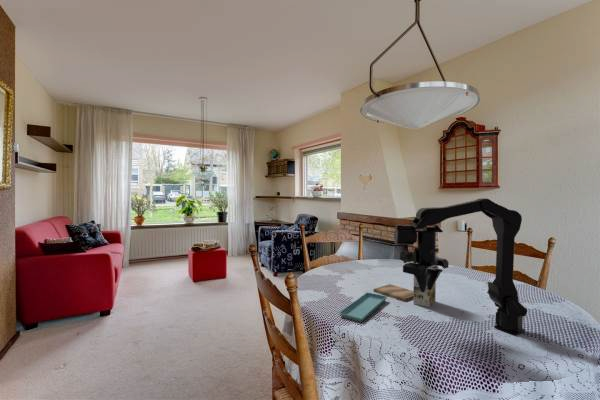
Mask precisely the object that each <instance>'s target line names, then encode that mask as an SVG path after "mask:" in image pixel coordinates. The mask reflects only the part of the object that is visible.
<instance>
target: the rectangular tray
mask: <svg viewBox="0 0 600 400" xmlns="http://www.w3.org/2000/svg"><path fill="white" fill-rule="evenodd" d="M387 297H388V296H386V295H383V294H379V293H377V294H376V293H372V292H366V293H364V294H363V295H362V296H360V297H359V298H358V299H356V300H354V301H353V302H352V303H350V304H349V305H348V306H346V307H344V308H343V309H342V310H341V311H339V315H340V316H341V318H344V319H347V318H348V320H351V319H352V320H351V321H355V320H356V322H358V321H359V323H362V322H363V321H364V320H365V319H367V318H368V317H369V316H370V315H371V314H372V313H374V311H376V310H377V309H379V307H380V306H382V304H384V303H385V301H386V299H387Z"/></svg>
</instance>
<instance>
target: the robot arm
mask: <svg viewBox="0 0 600 400" xmlns="http://www.w3.org/2000/svg"><path fill="white" fill-rule="evenodd" d="M480 212H482V214H484V215H485V216H486V217H488V218H490V219H491V220H492V221H491V222H492V228H493V230H494V233H495V235H496V255H495V256H496V257H495V259H496V260H495V278H494V279H493V282H490V281H488V282H487V287H488V289H487V292H486V293H487V294H488V297H489V299H490V300H491V301H492V302H493V303H494V305H495V307H497V309H496V310H497V311H496V312H495V325H494V326H493V328H495V329H498V330H500V331H502V332H505V333H507V334H510V335H513V336H517V335H520V334H522V333H524V332H526V329H525V328H523V327H524V326H523V325H524V324H523V321H524V319H523V318H524V317H526V315H527V313H528V309H527V308H526V307H524V305H523V304H521V302H520V299H519V293H518V290H517V287H516V285H515V283H514V263H515V239H516V236H517V235H518V233H519V231H520V230H521V225H522V221H523V217H522V215H521V214H520V212H518V211H517V210H513V209H509V208H508V207H505V206H504V205H503V206H502V205H500V204H498V203H496V202H494V201H492V200H491V199H489V198H480V197H479V198H477V199H475V200H471V201H465V202H461V203H456V204H451V205H447V206H440V207H434V206H433V207H432V206H431V207H422V208H419V209H418V210H417V211H416V214H415V217H414V218H413V220H412V221H411V223H409V224H406V225H404V224H403V225H402V224H395V228H394V233H393V243H394V245H396V246H399V245H401V246H405V245H406V246H414V244H416V243H417V245H416V246H417V247H414V249H413V251H412V252H408V250H404V251H400V253H399V259H400V261H402V262H403V265H402V273H406V274H409V275H413V277H414V276H415V277H416V279H417V282H418V285H419V287H420V290H421V292H423V293H424V292H425V289H426V286H427V288H428V290H431V289H432V287H433V286H434V284H435V282H436V283H437V280H438V278H439V276H440V275H441V274H442V272H443V269H444V270H445V269H448V268H449V261H448V260H447V259H446V258H441V257H436V256H437V255H436V253H439V248H437V247H436V246H437V242H436V241H437V233H443V232H444V231H443V230H442V229H441V228H440V227H439V225H437V224H440V223H442V222H443V221H446V220H448V219H451V218H456V217H461V216H465V215H470V214H475V213H480ZM417 263H418V264H417ZM440 267H442V269H441V268H440Z"/></svg>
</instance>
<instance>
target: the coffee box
mask: <svg viewBox="0 0 600 400" xmlns="http://www.w3.org/2000/svg"><path fill="white" fill-rule="evenodd" d="M416 264H418V263H416ZM436 283H437V281H436V282H435V284H434V286H433V287H432V289H431V290H428V288H427V286H426V289H425V292H424V293H423V292H421V290H420V287H419V285H418V282H417V279H416V277H415V276H414V275H413V291H414V298H413V299H412V300H413V305H416V306H420V307H426V308H429V307H431V306H432V305H433V304H434V303H435V302H436V295H437V294H436V286H437V285H436Z"/></svg>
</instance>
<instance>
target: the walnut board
mask: <svg viewBox="0 0 600 400" xmlns="http://www.w3.org/2000/svg"><path fill="white" fill-rule="evenodd" d="M373 292H374V293H377V294H379V295H383V296H387V297H389V298H391V299H395V300H398V301H402V302H407V301H410V300H414V290H411V289H408V288H404V287H401V286H397V285H394V284H391V283H390V284H386V285H381V286H380V287H376V288H373Z"/></svg>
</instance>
